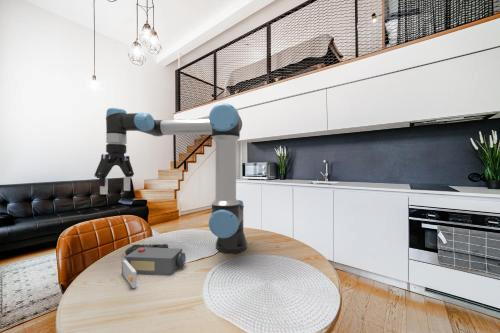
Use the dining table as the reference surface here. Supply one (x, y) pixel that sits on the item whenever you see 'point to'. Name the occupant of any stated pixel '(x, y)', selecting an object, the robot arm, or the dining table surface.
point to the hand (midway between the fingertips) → (116, 192)
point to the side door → (129, 273)
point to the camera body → (156, 260)
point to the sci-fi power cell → (144, 246)
